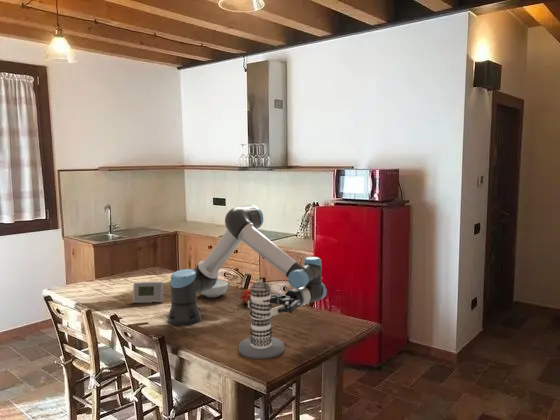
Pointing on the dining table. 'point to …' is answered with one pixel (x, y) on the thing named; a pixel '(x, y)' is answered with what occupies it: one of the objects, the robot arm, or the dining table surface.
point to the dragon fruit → (246, 296)
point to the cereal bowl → (216, 289)
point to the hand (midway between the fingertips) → (259, 308)
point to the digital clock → (148, 292)
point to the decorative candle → (260, 315)
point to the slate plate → (265, 353)
